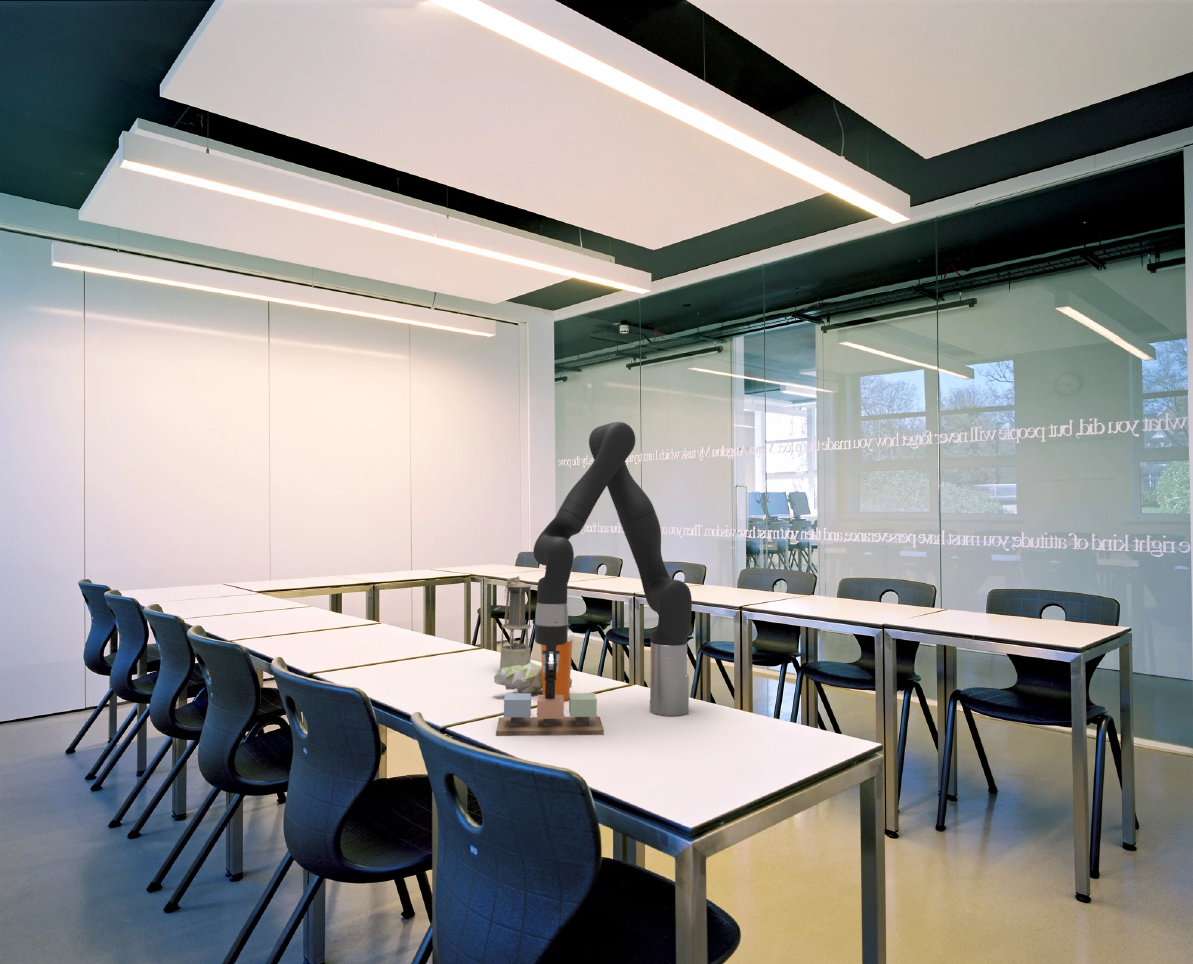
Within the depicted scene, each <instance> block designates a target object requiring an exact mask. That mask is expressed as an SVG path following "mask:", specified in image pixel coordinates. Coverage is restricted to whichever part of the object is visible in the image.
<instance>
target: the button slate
mask: <svg viewBox="0 0 1193 964" xmlns="http://www.w3.org/2000/svg"><path fill="white" fill-rule="evenodd" d="M503 699H504V700H503V717H532V716H531V712H532V709H531V707H532V693H518V692H517V693H510V692H509V693H504V698H503Z"/></svg>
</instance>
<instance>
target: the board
mask: <svg viewBox="0 0 1193 964" xmlns="http://www.w3.org/2000/svg"><path fill="white" fill-rule="evenodd" d="M592 735H593V736H594V735H595V736H596V735H597V736H598V735H599V736H600V735H601V736H604V735H605V729H604V726H603V723H602V719H601V716H597V717H570V716H564V719H537V716H530V717H504V716H502V717H498V721H497V725H496V729H495V736H497V737H498V736H503V737H504V736H505V737H506V736H510V737H511V736H513V737H514V736H592Z"/></svg>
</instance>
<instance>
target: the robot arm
mask: <svg viewBox="0 0 1193 964" xmlns="http://www.w3.org/2000/svg"><path fill="white" fill-rule="evenodd" d="M635 445H636V435H635V432H634V430H633V428H632V427H631V426H630V425H629V424H627V423H625V422H622V421H614V422H613V421H612V422H609V423H606V424H603V425H598V426H597V427H595V428H593V429H592V431H591V432H590V434H589V438H588V446H589V449H590V453H591V456H592V458H593V461H592V464H591V465H590V466H589V468H588V469H587V470H586V472H585V473H584V474H583V475H582V476H581V478H579V480H578V481H577V482H576V483H575V484H574V485H573V487H572V488H571V489H570V491H569V492H568V493H567V495H566V497H565V499H564V500H563V502H562V504H561V506H560V508H559V509H558V511H557V513H556V515H555V517H554V518H553V519H552V520H551V521H550V522H549V523H548V524H547V526H546V527H545V528H544V530H542V531H541V533H540V535H539V536H538V538H537V539H536V541H535V542H534V546H533V557H534V559H535V561H536V562H537V563H538V564H539V565H541V566H545V567H546V568H545V573H544V576H543V577H542V578H539V580H538V582H537V588H536V595H537V596H536V606H535V607H536V609H535V621H534V622H535V627H534V630H535V631H534V642H535V644H537V645H540V646H541V645H546V650H542V656H541V660H542V659H543V672H544V675H545V677H544V679H545V680H544V681H545V698H546V699H554V698H555V682H556V680H557V677H556V673H557V672H558V661H559V658H560V652H559V650H556V646H557V645H562V644H565V643H567V635H568V624H569V611H568V610H569V609H568V584H569V580H570V577H571V573H572V570H573V569H572V568H573V565H574V557H575V555H574V553H575V551H574V548H573V544H572V543H571V542H570V538H571V537H573V536H575V535H578V534H579V533H580V532H581V531H582V530H583V528H584V527H585V525H586V523H587V521H588V519H589V517H590V515H591V513H592V511H593V509H594V508H595V506H596V505H597V502H598V501H599V499H600V497H601V495H602V494H603V492H604V491H605V490H606V488H607V490H608V494H610V495H609V496H610V498H611V501H612V504H613V505H614V508H615V511H616V514H617V516H618V521H619V522H620V526H621V528H622V530H623V533H624V536H625V538H626V540H627V543H628V546H629V549H630V551H631V554H632V558H633V559H634V562H635V565H636V566H637V570H638V574H639V578H640V581H641V585H642V589H643V593H644V597H645V601H646V603H647V605H648V606H649V608H650V609H651V610H652V611H654V612H655V613H657V614H658V618H657V619H658V622H657V626H656V628H654V629H652V630H651V632H650V665H649V666H650V668H649V669H650V673H649V674H650V680H649V684H650V685H649V712H650V713H652V714H655V715H660V716H667V717H672V716H673V717H676V716H682V715H689V713H690V712H689V709H690V707H689V703H690V699H689V698H690V695H689V694H690V691H689V690H690V688H689V687H690V683H689V682H690V679H689V677H690V676H689V674H688V637H689V634H690V631H691V625H692V624H691V623H692V608H693V601H692V594H691V590H690V587H689V586H688V585H687V584H686V583H685V582H684V581H682V580H678V579H673V578H671V577H670V575H669V573H668V570H667V568H666V565H665V562H664V560H663V559H664V558H663V557H662V532H661V530H662V529H661V528H662V527H661V525H660V522H659V519H658V515H657V512H656V510H655V508H654V505H653V503H652V501H651V499H650V498H649V496H648V494H646V492H645V491H644V490H643V489H642V487H640V485H639V484H638V483H637V481H636V480H634V478H633V476H632V475H631V473H630V471H629V469H628V466H627V463H626V460H627V459H628V458H629V456H630V455H631V454H632V452H633V450H634V448H635Z"/></svg>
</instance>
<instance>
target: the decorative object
mask: <svg viewBox="0 0 1193 964" xmlns="http://www.w3.org/2000/svg"><path fill="white" fill-rule="evenodd" d="M499 670H500V669H499ZM499 670H498V671H499ZM493 679H494V680H493V682H494V684H496V685H499V686H504V687H505V690H507V691H508V690H510V691H511V690H517V693H531V694H533V693H536V692H538V691H540V690H542V665H538V664H536V663H533V662H530V663H529V664H527V665H524V666H521V665H516V666H510V667H509V668H508V667H506V668H502V669H501V670H500V671H499V672H497V673H496V674H494V676H493ZM572 683H573V680H572V678H571V677H570V687H571V686H572Z"/></svg>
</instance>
